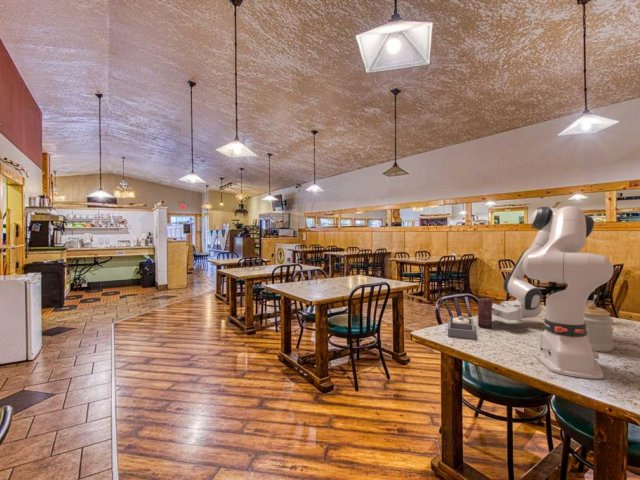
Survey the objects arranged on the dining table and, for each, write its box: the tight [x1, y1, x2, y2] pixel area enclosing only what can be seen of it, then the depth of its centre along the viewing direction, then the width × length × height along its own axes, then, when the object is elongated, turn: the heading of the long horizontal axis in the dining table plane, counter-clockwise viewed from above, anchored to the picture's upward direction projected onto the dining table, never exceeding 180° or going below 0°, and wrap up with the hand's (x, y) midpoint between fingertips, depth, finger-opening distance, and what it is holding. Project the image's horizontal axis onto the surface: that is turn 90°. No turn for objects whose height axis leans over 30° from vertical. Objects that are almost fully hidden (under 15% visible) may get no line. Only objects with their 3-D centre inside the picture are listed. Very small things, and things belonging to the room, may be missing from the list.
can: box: [477, 297, 494, 329], centre depth 157 cm, size 6×6×14 cm
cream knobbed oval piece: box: [452, 315, 470, 324], centre depth 156 cm, size 8×8×4 cm
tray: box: [447, 316, 476, 340], centre depth 151 cm, size 22×11×4 cm, turn 157°
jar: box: [584, 302, 614, 353], centre depth 129 cm, size 13×13×18 cm
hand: (483, 311), depth 157 cm, fingers closed
